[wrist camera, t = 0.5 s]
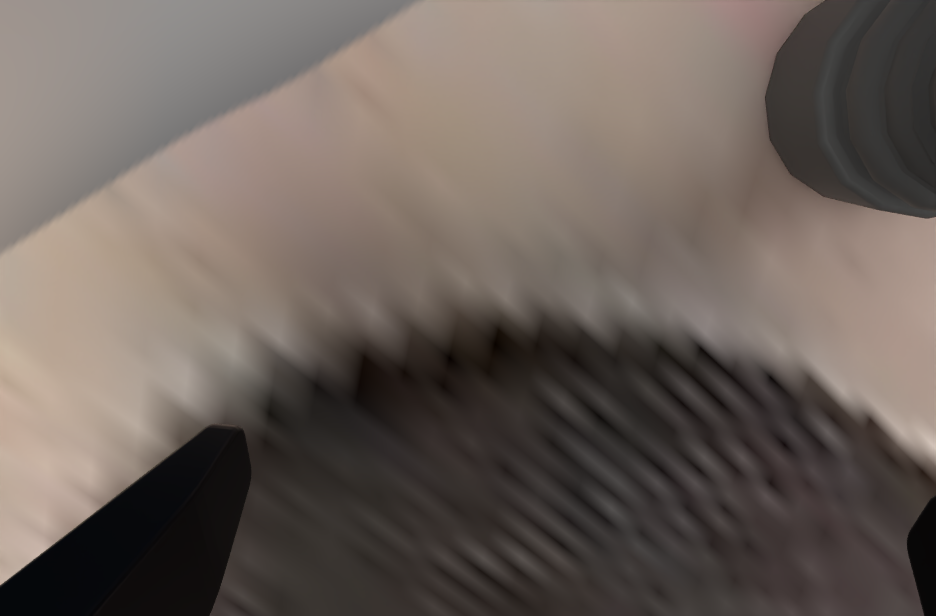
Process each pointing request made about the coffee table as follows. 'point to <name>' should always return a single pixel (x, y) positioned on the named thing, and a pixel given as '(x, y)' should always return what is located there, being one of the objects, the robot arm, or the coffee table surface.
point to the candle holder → (860, 103)
